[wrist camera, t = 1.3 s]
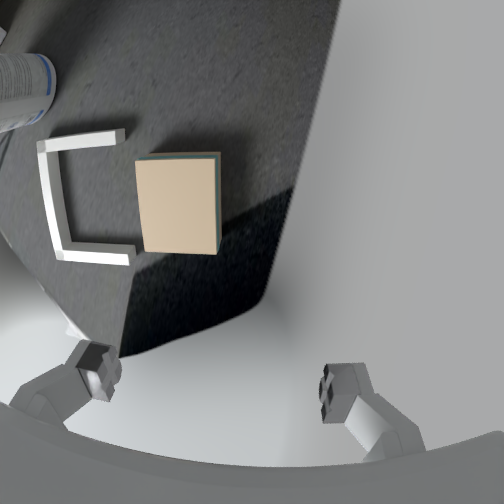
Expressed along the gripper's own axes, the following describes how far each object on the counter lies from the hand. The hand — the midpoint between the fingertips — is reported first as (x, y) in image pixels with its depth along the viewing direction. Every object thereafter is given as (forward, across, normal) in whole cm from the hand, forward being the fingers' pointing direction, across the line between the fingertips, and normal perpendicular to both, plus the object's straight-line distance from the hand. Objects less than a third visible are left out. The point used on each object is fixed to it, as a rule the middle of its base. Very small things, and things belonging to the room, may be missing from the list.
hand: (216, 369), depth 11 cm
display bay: (+25, +19, +1) cm, 31 cm away
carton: (+25, +7, +1) cm, 26 cm away
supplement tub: (+25, +28, -14) cm, 40 cm away
